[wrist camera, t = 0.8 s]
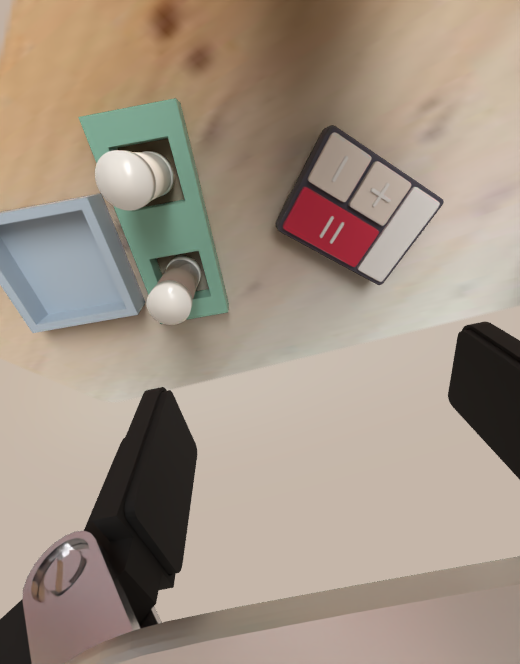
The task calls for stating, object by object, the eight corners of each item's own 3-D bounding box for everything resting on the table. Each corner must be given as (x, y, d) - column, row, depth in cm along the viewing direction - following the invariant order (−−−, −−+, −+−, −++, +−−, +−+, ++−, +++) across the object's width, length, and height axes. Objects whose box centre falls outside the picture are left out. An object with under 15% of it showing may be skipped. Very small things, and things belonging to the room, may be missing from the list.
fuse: (128, 155, 30) (85, 155, 22) (167, 148, 30) (139, 145, 22) (142, 199, 32) (109, 214, 24) (179, 192, 32) (159, 205, 24)
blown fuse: (163, 258, 36) (139, 290, 28) (196, 252, 36) (183, 282, 27) (173, 289, 38) (155, 328, 30) (205, 283, 38) (195, 321, 30)
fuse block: (90, 119, 29) (78, 117, 26) (180, 102, 28) (175, 98, 26) (164, 315, 40) (160, 324, 38) (228, 303, 40) (228, 312, 38)
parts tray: (-17, 215, 32) (-43, 221, 29) (101, 193, 32) (86, 197, 29) (48, 319, 39) (32, 333, 36) (145, 302, 39) (137, 314, 36)
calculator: (332, 121, 27) (450, 201, 31) (323, 126, 31) (428, 197, 35) (275, 230, 32) (383, 289, 36) (273, 223, 36) (371, 277, 39)
